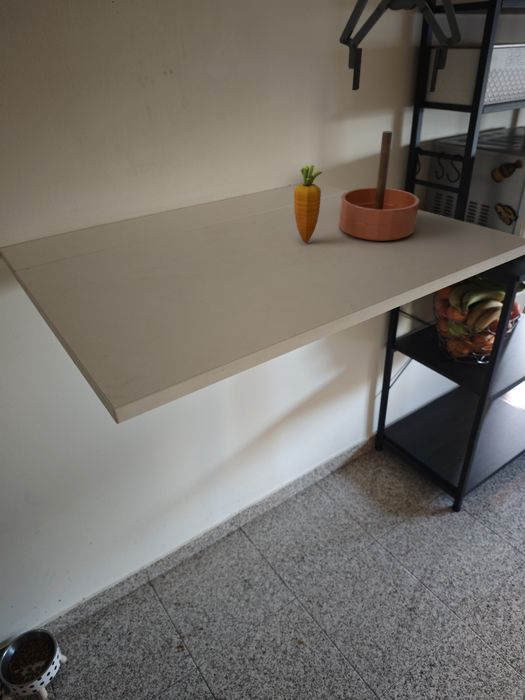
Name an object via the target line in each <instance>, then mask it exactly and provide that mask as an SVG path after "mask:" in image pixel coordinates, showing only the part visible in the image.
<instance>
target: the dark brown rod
mask: <svg viewBox="0 0 525 700" xmlns="http://www.w3.org/2000/svg"><path fill="white" fill-rule="evenodd" d="M392 139H393V131H391V130H384V131H382V135H381V143H380V151H379V152H380V153H379V162H378V170H377V179H376V196H375V205H374V209H383V205H384V197H385V189H386V188H387V180H388V172H389V171H388V170H389V163H390V156H391V146H392Z"/></svg>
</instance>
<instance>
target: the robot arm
mask: <svg viewBox="0 0 525 700" xmlns="http://www.w3.org/2000/svg"><path fill="white" fill-rule="evenodd" d="M368 2H369V0H357V1H356V2H355V5H354V8H353V9H352V10H351V11H352V12H351V13H350V16H349V17H348V19H347V22H346V24H345V26H344V28H343V30H342V32H341V34H340V37H339V43H340V44H341V45H344V46H346V47H347V48H348V64H347V66H348V69H349V70H353V75H352V87H351V91H358V90H359V89H360V82H361V81H360V80H361V69H362V59H363V57H362V56H363V47H359V45H361V43H362V41H363V40H364V38H366V37H367V35H368V34H369V33H370V31H371V30H372V29H373V28H374V27H375V26H376V23H377V22H378V21H380V19H381V18H382V16H383V15H384V14H385V13H386V12H387V11H388V9H389V10H390V11H393V12H394V11H395V12H397V11H400V10H405V11H413V10H415V9H417V8H418V10H419V12H420V13H421V15H422V17H423V18H424V20H425V21H426V23H427V25H428V26H429V28H430V30H431V31H432V34H433V35H434V36H435V38H436V40H437V42H438V43H439V45H440V47H436V48H435V52H434V53H435V54H434V59H433V66H432V73H431V78H430V86H429V93H435V92H436V86H437V80H438V73H439V71H441V70H443V71H444V70H445V68H446V65H447V60H448V54H449V49H450V48H451V46H453V45H456V44H459V43H460V42H461V41H462V34H461V31H460V26H459V23H458V19H457V16H456V12H455V9H454V6H453V5H454V4H453V1H452V0H441V2H442V6H443V9H444V12H445V17H446V20H447V23H448V28H449V31H450V34H451V36H450V37H448V36H447V35H446V33H445V31H444V30H443V28H442V26H441V25H440V23H439V21H438V20H437V18H436V17H435V15H434V13H433V11H432V10H431V8H430V6H429V4H428V3H427V1H426V0H380V2H379V3H378V5H377V6H376V7H375V9H374V10H373V11H372V13H371V14H370V15H369V17H368V18H367V19H366V20H365V22H364V23H363V24H362V26H361V27H360V29H359V30H358V31H357V32H356V33H355V34H354V36H353V37H352V35H353V33H354V31H355V29H356V26H357V25H358V23H359V21H360V18H361V16H362V14H363V12H364V10H365V8H366V6H367V4H368Z"/></svg>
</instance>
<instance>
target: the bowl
mask: <svg viewBox="0 0 525 700" xmlns="http://www.w3.org/2000/svg"><path fill="white" fill-rule="evenodd" d="M376 187H377V186H376ZM376 187H375V186H373V187H361V188H359V187H358V188H354V189H349V190H348V191H345V192H344V193H343V194H342V195H341V196H340V206H339V218H338V219H339V221H338V222H339V223H338V225H339V229H340V230H341V231H343V232H344V233H345V234H348V235H350V236H352V237H354V238H358V239H360V240H361V239H362V240H366V241H376V242H388V241H395V240H400V239H403V238H406V237H410V235H412V234H413V233H415V230H416V224H417V218H418V212H419V206H420V199H419V197H418V195H416V194H413V193H412V192H408V191H405V190H402V189H397V188H391V187H386V189H385V197H384V205H383V209H374V205H375V196H376Z"/></svg>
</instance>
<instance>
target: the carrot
mask: <svg viewBox="0 0 525 700" xmlns="http://www.w3.org/2000/svg"><path fill="white" fill-rule="evenodd" d="M314 169H315V165H314V164H310V166H309V165H305V166H304V167H301V168H300V172H301V175H302V179H303V183H300V184H299V185H297V186H296V187H295V188H294V191H293V192H294V193H293V195H294V196H293V204H294V205H293V206H294V209H293V210H294V216H295V217H294V218H295V223H296V229H297V231H298V234H299V237H300V238H301V241H302V242H303V243H304V244H307V243H309V241H310V240H311V238H312V236H313V235H314V232H315V229H316V227H317V223H318V219H319V215H320V209H321V208H320V206H321V197H322V192H321V188H320V187H319V186H318V185H317V184H315V183H314V181H315V179H316V178H318V176H319V175H321V174H323V172H322V171H321V170H320V169H319V170H317V171H315V172H314Z"/></svg>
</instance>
